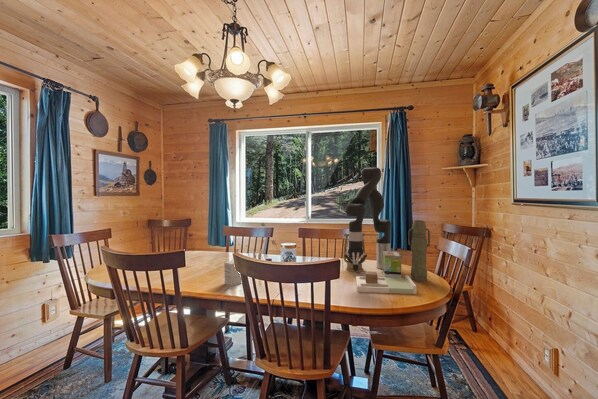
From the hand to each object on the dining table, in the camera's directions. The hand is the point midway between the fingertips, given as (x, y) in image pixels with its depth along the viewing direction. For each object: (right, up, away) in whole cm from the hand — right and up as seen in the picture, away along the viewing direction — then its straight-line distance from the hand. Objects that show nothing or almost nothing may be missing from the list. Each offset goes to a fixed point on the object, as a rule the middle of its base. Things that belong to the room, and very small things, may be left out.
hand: (355, 270), depth 164 cm
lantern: (+6, -8, +36) cm, 37 cm away
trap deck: (+15, -8, -2) cm, 18 cm away
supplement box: (-69, -9, +6) cm, 70 cm away
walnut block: (+8, -6, -1) cm, 10 cm away
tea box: (+26, -8, +18) cm, 32 cm away
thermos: (+40, -8, +11) cm, 42 cm away
